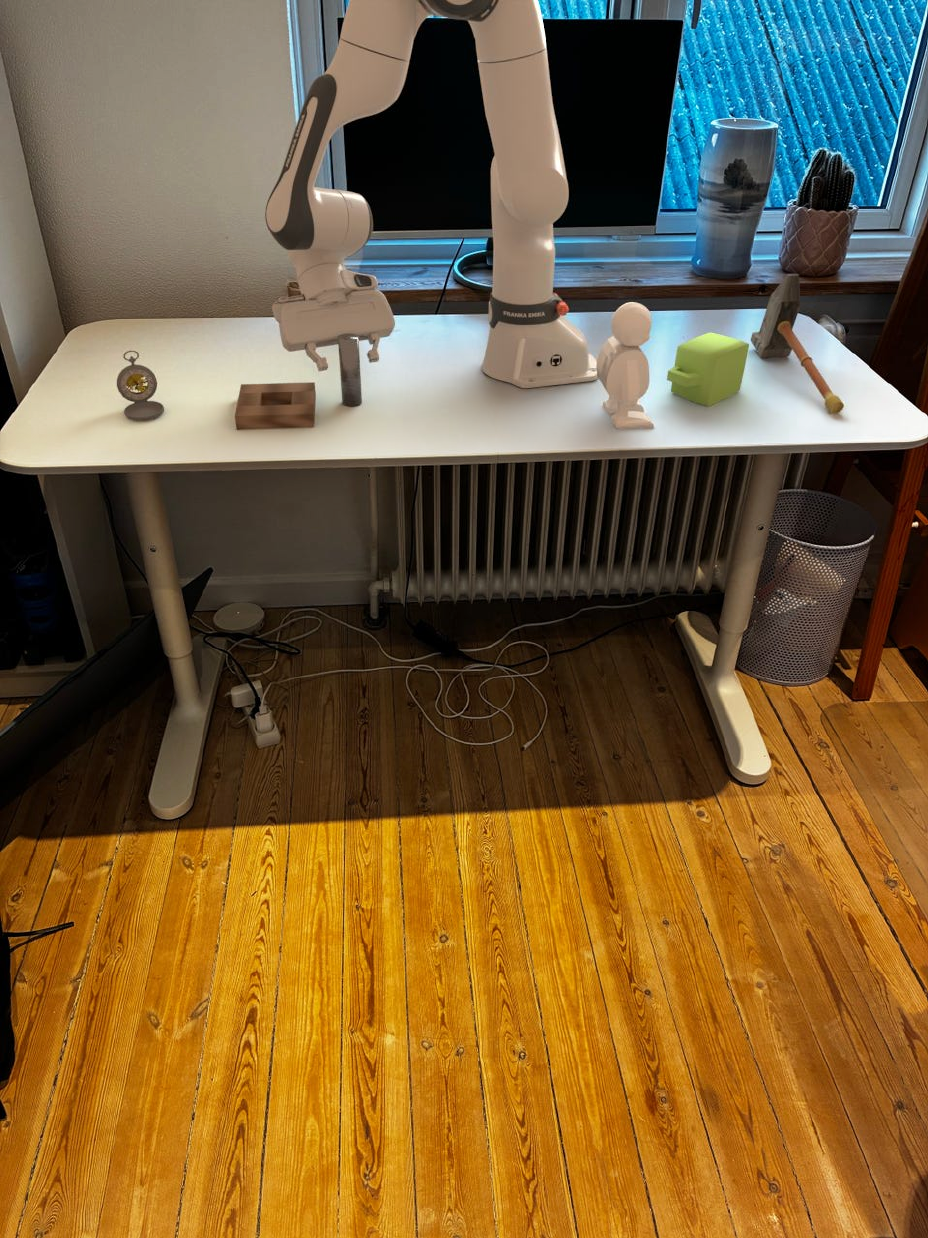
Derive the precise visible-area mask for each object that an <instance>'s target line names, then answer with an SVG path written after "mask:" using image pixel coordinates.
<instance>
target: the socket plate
mask: <svg viewBox="0 0 928 1238" xmlns="http://www.w3.org/2000/svg"><path fill="white" fill-rule="evenodd" d="M316 393H317V392H316V383H315V382H314V381H313V382H312V381H311V382H279V383H278V382H277V383H275V382H274V383H272V382H271V383H243V384H242V383H241V384H240V388H239V393H238V396H237V397H238V398H237V403H236V408H235V413H234V421H235V425H236V428H235V429H236V430H237V431H238V430H239V431H240V430H267V429H270V430H271V429H273V430H275V429H298V428H299V429H303V428H304V429H305V428H315V423H316V422H315V419H316V399H317V397H316V396H317V395H316Z"/></svg>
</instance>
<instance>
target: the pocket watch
mask: <svg viewBox="0 0 928 1238" xmlns="http://www.w3.org/2000/svg"><path fill="white" fill-rule="evenodd" d="M128 353H135V354H136V355H137V356H136V358H134V356H132V355H131V356H130V357H129V358H126V355H127V354H128ZM122 357H123V359H124V360H125V361H128V362H129V363H131V364H129V365H126V367H124V368H123V369H121V370H120V371H119V373H118V375H117V377H116V388H117V390H118V393H119V394H120V396H121V397H122V398H124V399H125V400H127V401H128V402H132V403H130V404H128V405H127V406H125V408H124V410H123V413H124V416H125V417H126V418H128V419H129V420H133V421H149V420H152V419H157V418H158V417H160V416H161V415H163V413H164V412H165V406H164V405H163V404H162V403H161V402H159V401H155V400H150V399H151V398H152V397H153V396H154V394H155V393H156V391H157V388H158V381H157V377H156V375H155V374H154V372H153V371H152V370H151V369H150V368H149V367H147V366H145V365H142V364H136V363H135V362H136V361H137V360H138V359H139V357H140V354H139V352H137V351H136V350H128V351H126V352H124V353H123V356H122ZM146 384H147V385H146ZM136 391H137V392H136Z"/></svg>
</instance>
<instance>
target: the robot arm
mask: <svg viewBox="0 0 928 1238" xmlns="http://www.w3.org/2000/svg"><path fill="white" fill-rule="evenodd" d="M539 3H540V2H539V1H538V0H348V4H347V7H346V11H345V14H344V18H343V22H342V26H341V31H340V37H339V41H338V45H337V49H336V51H335V54H334V56H333V58H332V60H331V63H330V64H329V66H328V68H327V70H326V71H325V72H324V73H323V74H321V75H320V76H318V77H317V78H316V79H315V80H313V82H312V84H311V86H310V87H309V89H308V92H307V94H306V96H305V99H304V103H303V105H302V108H301V110H300V113H299V116H298V119H297V123H296V126H295V129H294V131H293V135H292V136H291V137H292V138H291V140H290V143H289V147H288V150H287V154H286V156H285V159H284V162H283V166H282V169H281V172H280V174H279V176H278V179H277V181H276V183H275V184H274V187H273V189H272V190H271V193H270V195H269V197H268V200H267V203H266V206H265V213H264V215H265V217H264V218H265V223H266V226H267V229H268V231H269V233H270V234H271V235H272V238H273V239H274V240H275V241H276V243H278V244H279V245H280V246H281V247H282V248H283V249H285V250H287V252H288V255H289V258H290V262H291V264H292V265H293V266H294V268H295V271H296V282H297V284H298V288H299V291H300V294H298V295H291V296H289V297H285V296H284V297H279V298H278V299H277V300H276V301H274V302H273V304H272V305H271V306H272V307H271V311H272V314H273V317H274V319H275V321H276V322H278V325H279V326H278V328H279V334H280V340H281V344H282V347H283V348H284V349H285V350H286V351H287V352H298V351H299V352H300V351H305V353H306V356H307V357H309V359H310V360H311V361H312V362H313V363H315V364H316V368H317V371H318V372H323V371H328V368H329V363H328V362H327V358H326V356H323V357H321V356H320V355H319V353H317V351H316V349H317V348H323V347H330V346H335V345H338V336H339V335H341V334H346V333H352V334H356V335H358V337H359V342H362V341H368V343H369V345H370V346H371V345H372V347H371V349H369V350H368V352H367V353H366V357H367V359H368V363H370V364H371V363H377V362H379V360H380V356H379V355H380V354H379V352H378V347H379V343H380V339H381V338H387V337H390V336H391V334H392V333H393V331H394V329H395V327H396V320H395V317H394V314H393V310H392V308H391V306H390V304H389V302H388V300H387V297H386V296H385V294H383V292H382V291H380V290H378V285H379V283H378V279H377V278H376V276H375V275H370V274H365V273H360V272H355V271H352V270H349V269H347V268H346V266H345V259H346V258H349V257H352V256H354V255H355V254H357V253H358V252H359V251H360V250H361V249H362V248H364V247H365V246H366V245H367V243H368V242H369V241H370V239H371V237H372V235H373V231H374V219H373V214H372V210H371V207H370V205H369V203H368V201H367V200H366V198H365V197H364V196H363V195H362V194H360V193H358V192H357V193H356V192H353V191H348V190H341V189H333V188H324V187H317V186H315V183H316V180H317V178H318V175H319V172H320V169H321V165H322V163H323V160H324V157H325V154H326V152H327V148H328V146H329V143H330V141H331V138H332V137H333V135H334V134H335V133H336V132H337V131H338V129H340V128H342V127H344V126H345V125H346V124H348V123H351V122H353V121H356V120H359V119H363V118H366V117H370V116H371V117H372V116H373V115H374V116H375V115H377V114H379V113H381V112H383V111H385V110H387V109H388V108H390V107H391V106H392V105H393V104H394V103H395V102H396V101H398V98H399V97H400V95H401V93H402V90H403V88H404V86H405V82H406V78H407V74H408V69H409V65H410V60H411V55H412V51H413V50H412V49H413V47H414V46H413V45H414V40H415V38H416V35H417V32H418V30H419V28H420V27H421V25H422V23H423V22H424V21H425V20H426V19H427V18H428V17H430V16H437V17H441V18H448V19H453V20H462V21H467V22H468V24H469V25H470V28H471V31H472V34H473V38H474V39H475V51H476V56H477V57H476V58H477V65H478V71H479V72H478V73H479V78H480V79H479V80H480V86H481V93H482V99H483V106H484V112H485V113H484V114H485V118H486V121H487V125H488V130H489V133H490V138H491V143H492V148H493V153H494V156H493V158H492V161H491V167H490V202H491V203H490V205H491V207H490V208H491V225H492V230H491V231H492V242H493V243H492V244H493V257H492V258H493V259H492V260H493V261H492V263H493V264H492V292H490V294H489V301H488V324H489V333H488V337H487V339H488V340H487V342H486V343H487V344H486V349H485V353H484V356H483V359H482V363H481V365H480V367H481V370H482V372H483V373H485V374H486V375H487V376H488V377H491V378H492V379H495V380H498V381H502V382H506V383H509V384H512V385H514V386H517V387H519V388H522V389H531V388H532V389H533V388H539V387H548V386H556V385H557V386H558V385H566V384H574V383H585V382H592V381H595V380H597V379H599V377H598V375H597V369H596V366H597V359H596V358H595V357H594V356H593V354H591V353H589V347H588V341H587V338H586V336H585V335H584V333H583V332H582V331H581V330H580V329H579V328H578V327H577V326H575V324H574V323H572V322H571V321H570V320H568V319H567V318H566V317H565V316H566V315H567V314H569V311H570V309H569V306H568V304H567V303H566V302H565V301H563V299H562V298H561V297H560V296H559V295H558V294H557V293H556V292H553V290H554V277H555V275H554V274H555V262H556V261H555V260H556V246H555V240H554V225H553V224H554V223H555V222H556V221H558V219H560V218H561V216H562V215H563V213H565V210H566V208H567V206H568V203H569V194H570V193H569V192H570V191H569V189H570V188H569V182H568V179H567V171H566V165H565V160H564V154H563V148H562V144H561V143H562V142H561V138H560V133H559V128H558V124H557V119H556V114H555V109H554V108H555V107H554V103H553V96H552V87H551V86H552V85H551V79H550V77H551V76H550V68H549V61H548V60H549V59H548V58H549V57H548V50H547V42H546V33H545V28H544V22H543V17H542V12H541V7H540V4H539Z"/></svg>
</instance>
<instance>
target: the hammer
mask: <svg viewBox="0 0 928 1238" xmlns="http://www.w3.org/2000/svg"><path fill="white" fill-rule="evenodd" d="M800 288H801V287H800V274H799V273H787V274H786V275H785V276H784V277H783V280H782V281H781V282H780V284H779V285H778V286H777V287H776V289H775V290H774V291H773V292H772V293H771V295H770V298H769V300H768V302H767V303H768V304H767V306H766V309H765V312H764V316H763V319H762V322H761V325H760V328H759V331H754V332H752V333H751V336H750V342H751V344H752V345H753V347H754V348H755V351H756V352H757V354H758V356H759V357H760V359H772V358H775V359H776V358H787V357H789V356H790V355H791V353H792V351H793V353H794V354H795V356H796V358H797V359H798V360H799V362H800V366H801V367H803V369H804V370H805V372H806V373H807V375H808V376H809V378H810V379H811V381H812V382H813V384H814V385H815V388H817V390H818V391H819V393H820V394H821V396H822V398H823V399H824V407H825V408H826V409H827V411H828V413H829V414H832V415H833V414H839V413H840V412H842V411H843V410H844V407H845V405H844V403H843V401H842V400H841V398H840V397H839V396H837V395H835V394H834V393H833V391H832V390H831V388H830V386H829V385H828V384H827V382H826V380H825V379H824V377H823V376H822V374H821V373H820V371H819V369H818V368H817V367H816V365H815V363H814V361H813V358H812V357H811V356H809V354H808V353H807V351H806V350H805V348H804V346H803V345H802V343H801V342H800V340H799V338H798V337H797V335H796V334H795V333H794V331H793V328H794V326H795V322H796V320H797V317H798V314H799V311H800V309H801V305H802V303H801V295H800V294H801V293H800Z"/></svg>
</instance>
